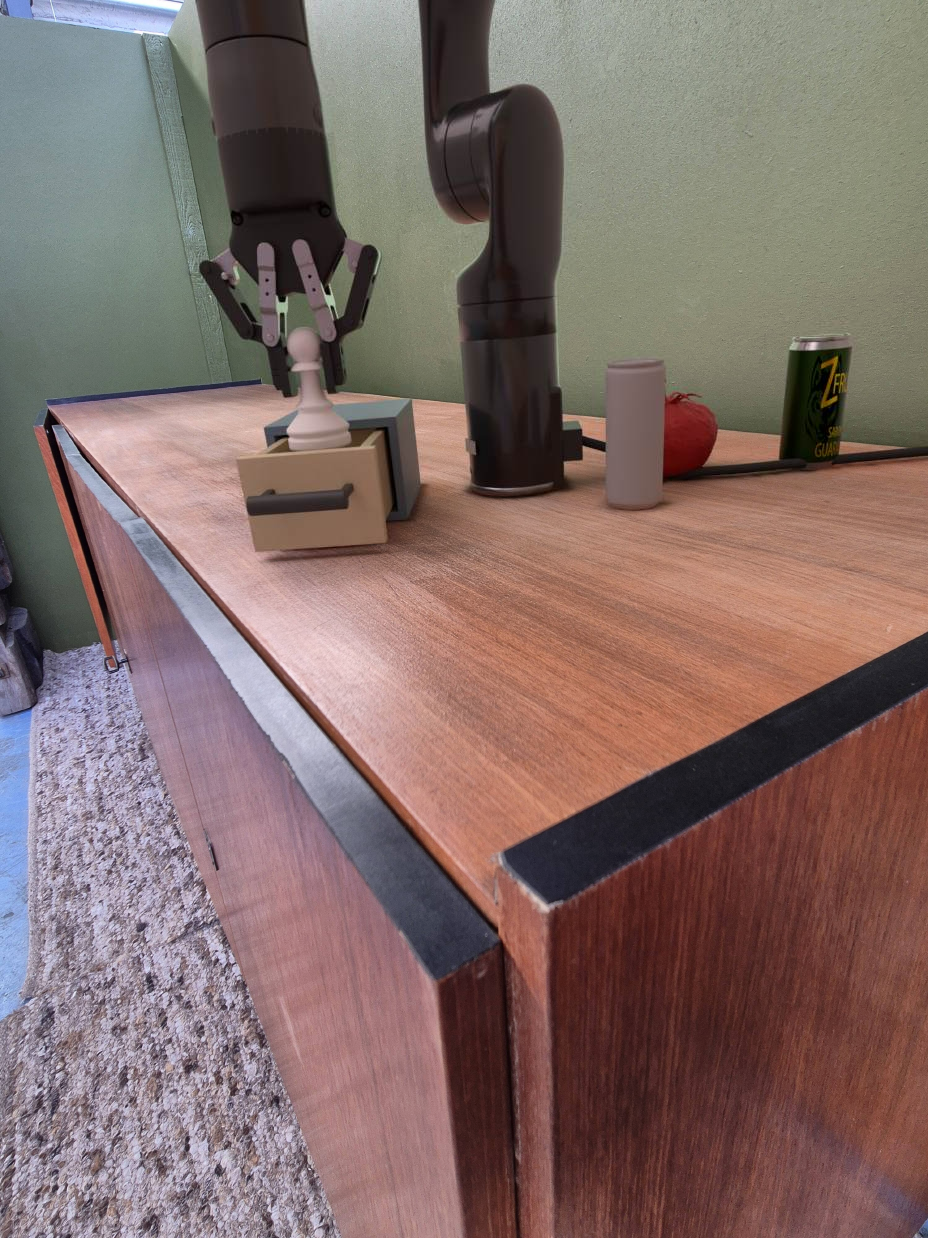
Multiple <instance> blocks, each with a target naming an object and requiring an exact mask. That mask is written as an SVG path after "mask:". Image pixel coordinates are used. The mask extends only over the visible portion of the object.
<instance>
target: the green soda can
mask: <svg viewBox="0 0 928 1238" xmlns="http://www.w3.org/2000/svg"><path fill="white" fill-rule="evenodd" d="M851 338H852V333H843V332H842V333H820V334H819V333H817V334H807V335H798V336H793V337H792V339H791V340H792V343H791V344H790V346H789V348H788V355H787V365H786V374H785V387H784V398H783V407H782V417H781V418H782V419H781V420H782V421H781V428H780V429H781V431H780V440H779V451H778V460H786V459H796V458H799V459H802V460H804V461H805V462H806V463H807V466H806V467H805V468H795V469H794V470H796V471H797V470H799V471H818V470H826V469H830V468H833V467H834V466H835V465H832V462H833V461H834V460H835V458H836V456H837V455H839V454H840V450H841V449H840V448H841V441H842V432H843V425H844V424H843V423H844V416H845V407H846V400H847V392H848V385H849V375H850V368H851V360H852V353H853V352H852V351H853V344H852V340H851Z"/></svg>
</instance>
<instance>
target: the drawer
mask: <svg viewBox="0 0 928 1238" xmlns="http://www.w3.org/2000/svg"><path fill="white" fill-rule="evenodd" d="M348 432H350V434H351V443H350V444H349V445H346V446H344V447H340V448H336V449H324V450H312V451H299V452H297V451H293V450H291V449H290V448H289V442H288V439H289V438H290V436H289V435H287V436H285V437H283V438H282V439H280V440H279V441H277V442H275V443H274V444H272V445H271V446H269V447H267V446H266V448H264V449H262V450H261V451H259V452H258V453H257V454H251V455H250V454H249V455H241V456H238V457H237V458H236V459H235V463H236V466H237V471H238V476H239V481H240V486H241V490H242V495H243V500H244V505H245V510H246V514H247V520H248V524H249V529H250V533H251V539H252V543H253V549H254V552H255V553H261V552H275V551H290V550H302V549H304V550H305V549H317V548H331V547H347V546H348V547H349V546H359V545H361V546H362V545H374V544H376V545H377V544H386V543H387V541H388V539H389V536H388V529H387V521H386V519H387V517H388V515H389V512H390V510H391V508H392V506H393V504H394V502H395V500H396V498H395V490H394V482H393V474H392V466H391V457H390V449H389V441H388V433H387V427H378V428H366V429H353V430H348Z"/></svg>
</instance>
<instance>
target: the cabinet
mask: <svg viewBox="0 0 928 1238" xmlns="http://www.w3.org/2000/svg"><path fill="white" fill-rule="evenodd" d="M332 410H333V411H334V412H336V413H337V414H338V415H339V416H341V417H342V418H343V419H344V420H346V421H347V422H348V423H349V429H348V430H353V429H366V428H378V427H387V433H388V441H389V449H390V457H391V466H392V474H393V482H394V490H395V498H396V500H395V502H394V504H393V506H392V508H391V510H390V512H389V515H388V517H387V519H386V522H392V521H393V522H394V521H402V520H403V521H406V520H409V517H410V515H411V513H412V509H413V506H414V504H415V502H416V499H417V496H418V493H419V492H420V489H421V486H422V481H421V473H420V472H421V471H420V463H419V462H420V461H419V454H418V444H417V435H416V426H415V425H416V424H415V417H414V416H415V415H414V406H413V398H411V397H410V398H408V397H407V398H398V399H397V398H395V399H385V400H373V401H362V402H347V403H336V404H333V406H332ZM297 415H298V410H297V409H295V410H294V411H292V412H290V413H288V414H286V415H284V416H283V417H280V418H279V419H276V420H275V421H272V422H271V423H269V424H267V425H266V426H264V427H263V432H264V436H265V437H264V438H265V442H266V448H267V447H269V446H271V445H272V444H274V443H275V442H277V441H279V440H280V439H282V438H283V437H285V436H287V435H288V434H287V428H288V427H289V426H290V424H291V423H292V421H293V420H294V419H295V417H296V416H297Z"/></svg>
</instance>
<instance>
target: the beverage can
mask: <svg viewBox="0 0 928 1238" xmlns="http://www.w3.org/2000/svg"><path fill="white" fill-rule="evenodd" d="M664 363H665V358H664V357H636V358H624V359H615V360H610V361H608V362H607V363H606V365H607V368H606V370H605V442H606V453H605V499H606V502H607V503H608V504H609V505H610V506H611V507H613V508H615V509H620V510H629V511H637V510H647V509H650V508H654V507H655V506H657V505H658V504H659V503H660V501H661V500H662V498H663V483H664V482H663V481H664V480H663V447H664V412H665V390H666V383H665V379H666V376H667V373H666V372H667V369H666V366H665V364H664Z"/></svg>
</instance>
